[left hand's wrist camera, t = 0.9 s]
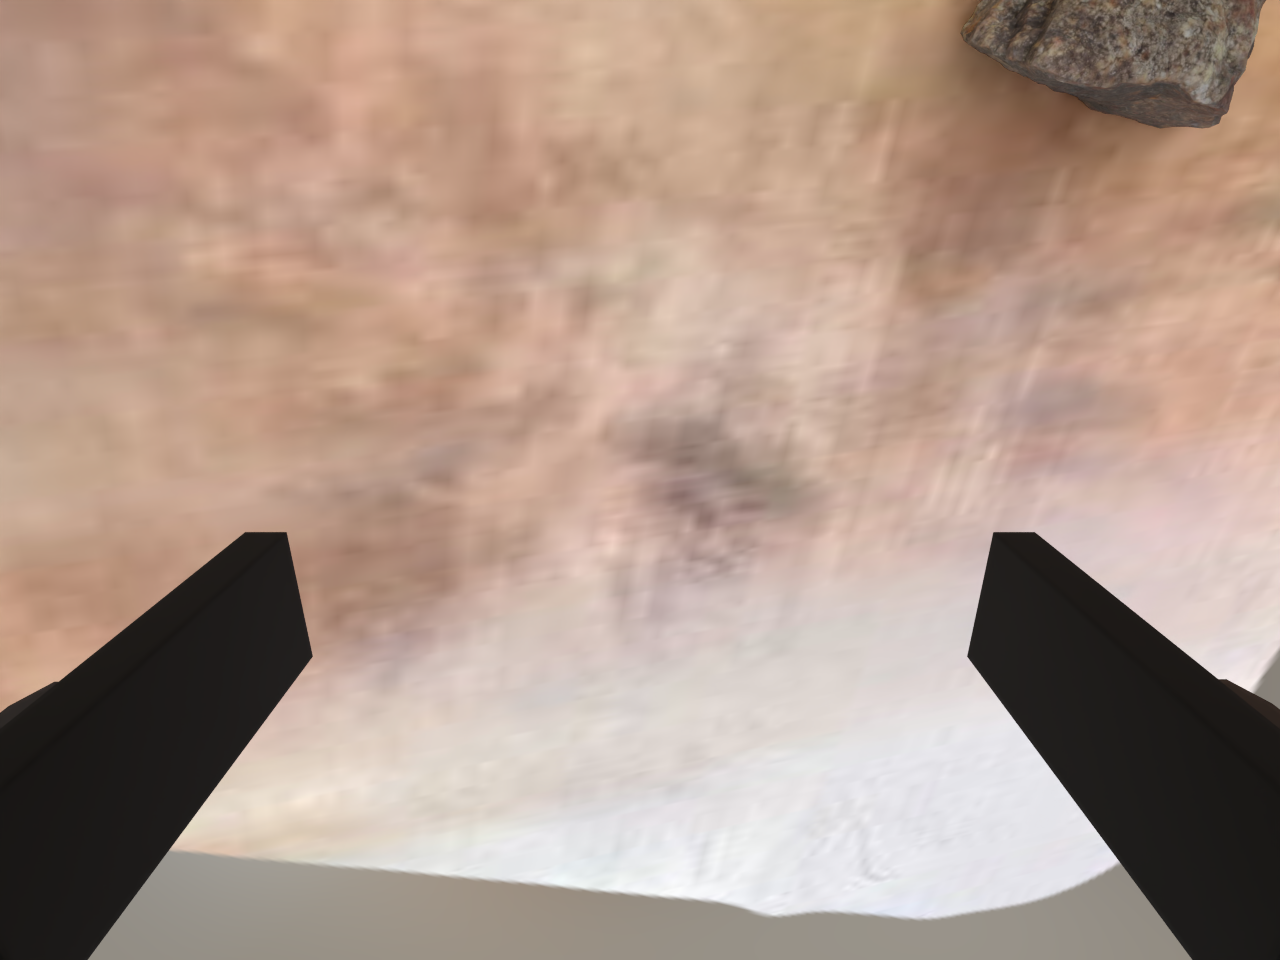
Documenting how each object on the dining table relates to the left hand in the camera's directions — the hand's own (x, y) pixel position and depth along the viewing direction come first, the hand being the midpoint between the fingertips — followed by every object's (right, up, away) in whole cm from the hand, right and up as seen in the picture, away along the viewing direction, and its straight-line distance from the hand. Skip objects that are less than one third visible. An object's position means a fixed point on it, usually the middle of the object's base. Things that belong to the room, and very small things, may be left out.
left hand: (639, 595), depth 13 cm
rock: (+23, +24, +21) cm, 39 cm away
